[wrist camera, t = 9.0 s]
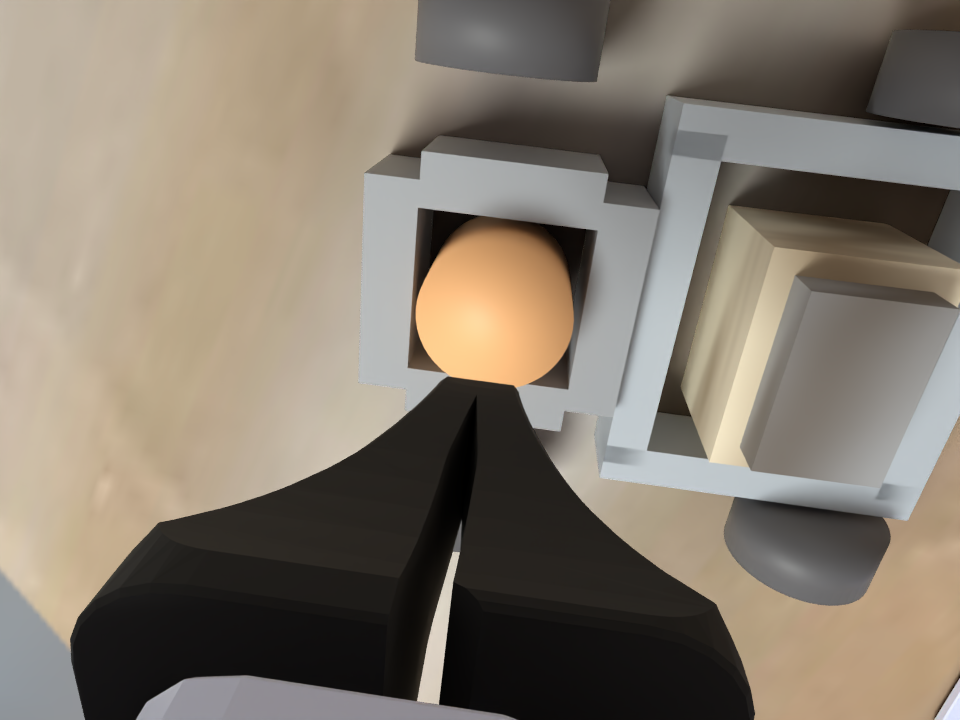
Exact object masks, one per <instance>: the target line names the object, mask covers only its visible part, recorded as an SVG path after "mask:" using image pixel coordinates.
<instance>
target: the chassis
mask: <svg viewBox="0 0 960 720" xmlns="http://www.w3.org/2000/svg"><path fill="white" fill-rule="evenodd" d="M609 6H610V0H418V15H417V33H416V50H415V60H416V61H419V62H423V63H427V64H432V65H438V66H444V67H450V68H457V69H464V70H471V71H478V72H486V73H494V74H502V75H511V76H520V77H529V78H539V79H550V80H561V81H576V82H596V81H597V77H598V71H599V65H600V59H601V53H602V47H603V42H604V36H605V30H606V24H607V18H608V12H609ZM866 112H868V113H872V114H877V115H881V116H887V117H892V118H897V119H903V120H909V121H915V122H921V123H928V124H934V125H941V126H947V127H954V128H960V32H955V31H936V30H894V31H893V32H892V35H891V38H890V41H889V44H888V47H887V50H886V53H885V56H884V59H883V62H882V65H881V68H880V71H879V73H878V76H877V79H876V82H875V85H874V88H873V91H872V94H871V97H870V100H869V103H868V106H867V109H866ZM721 161H723V162H731V163H739V164H747V165H755V166H763V167H772V168H780V169H788V170H796V171H804V172H812V173H820V174H829V175H837V176H845V177H853V178H861V179H869V180H877V181H886V182H894V183H902V184H910V185H918V186H926V187H934V188H943V189H951V190H950V192H949V195H948V197H947V199H946V202H945V204H944V207H943V209H942V212H941V214H940V216H939V219H938V221H937V224H936V226H935V229H934V231H933V233H932V236H931V238H930V241H929V243H928V247H930V248H932V249H934V250H936V251H938V252H939V253H941V254H943V255H945V256H947V257H949V258H950V259H952V260H954V261H956V262H958V263H960V130H952V129H943V128H935V127H927V126H918V125H910V124H902V123H893V122H885V121H877V120H868V119H860V118H852V117H843V116H835V115H827V114H818V113H810V112H802V111H793V110H785V109H777V108H768V107H760V106H751V105H743V104H735V103H726V102H718V101H710V100H701V99H693V98H685V97H676V96H668V95H667V97H666V101H665V106H664V111H663V115H662V120H661V125H660V129H659V134H658V139H657V144H656V148H655V153H654V158H653V162H652V167H651V172H650V176H649V181H648V186H647V190H646V188H645V187H644V186H640V185H632V184H624V183H616V182H608V181H607V180H608V175H609V174H608V172H607V170H606V167H605V165H604V163H603V161H602V159H601V157H600V155H596V154H588V153H580V152H572V151H564V150H556V149H548V148H540V147H532V146H523V145H515V144H507V143H499V142H491V141H483V140H475V139H467V138H459V137H450V136H442V135H439V136H438V137H436V138H435V139H434V140H433V141H432V142H431V143H430V144H429V145H428V146H427V147H425V148H424V149H423V150H422V152H421V158H415V157H407V156H399V155H391V154H389V155H388V156H387V157H385V158H384V159H383V160H381V161H380V162H379V163H377V164H376V165H374V166H373V167H372V168H370V169H369V170H368V171H366V172H365V173H364V208H363V243H362V278H361V313H360V347H359V382H358V383H362V384H370V385H377V386H384V387H392V388H399V389H406V399H405V410H406V411H411V410H412V409H413V408H414V407H415V406H416V405H418V404H419V403H420V402H421V401H422V400H423V399H424V398H425V397H426V396H427V395H428V394H429V393H430V392H431V391H432V390H433V389H434V388H435V387H436V386H437V384H438V383H439V382H440V381H441V380H443V379H444V378H446V377H447V376H449V377H451V376H450V375H448V374H447V373H446V372H444V371H443V370H442V369H441V368H440V367H439V366H438V365H437V364H436V363H435V362H434V361H433V360H432V359H431V357H430V356H429V355H428V353H427V351H426V350H425V348H424V346H423V344H422V342H421V340H420V337H419V333H418V330H417V324H416V305H417V299H418V295H419V292H420V289H421V287H422V285H423V283H424V280H425V278H426V276H427V275H428V273H429V263H430V250H431V237H432V223H433V210H441V211H448V212H456V213H464V214H472V215H480V216H488V217H496V218H504V219H511V220H519V221H527V222H535V223H543V224H551V225H559V226H566V227H574V228H582V229H586V235H585V240H584V246H583V251H582V257H581V262H580V268H579V274H578V279H577V285H576V290H575V296H574V302H573V311H574V324H573V332H572V335H571V339H570V342H569V344H568V347H567V349H566V351H565V352H564V354H563V356H562V357H561V359H560V360H559V361H558V362H557V364H556V365H555V366H554V367H553V368H552V369H551V370H550V371H549V372H547V373H546V374H545V375H543V376H542V377H540V378H539V379H537V380H535V381H533V382H531V383H529V384H526V385H524V386H520V387H516V389H517V390H518V391H519V395H520V398H521V402H522V404H523V407H524V410H525V412H526V414H527V416H528V419H529V421H530V423H531V425H532V427H533V428H537V429H544V430H552V431H559V432H561V427H562V421H563V416H564V411H567V412H575V413H582V414H589V415H597V416H598V420H597V424H596V429H595V434H594V436H595V444H596V453H597V461H598V469H599V477H600V478H605V479H612V480H620V481H627V482H634V483H641V484H648V485H655V486H663V487H670V488H677V489H684V490H691V491H698V492H705V493H713V494H720V495H727V496H734V497H735V498H734V501H733V504H732V507H731V510H730V512H729V515H728V518H727V521H726V524H725V528H724V539H725V542H726V545H727V547H728V549H729V551H730V553H731V554H732V556H733V557H734V558H735V560H736V561H737V562H738V563H739V564H740V565H741V566H742V567H743V568H744V569H745V570H746V571H747V572H748V573H750V574H751V575H752V576H753V577H755V578H756V579H757V580H759V581H760V582H762V583H763V584H765V585H767V586H768V587H770V588H772V589H774V590H776V591H778V592H780V593H782V594H784V595H787V596H789V597H792V598H795V599H798V600H801V601H805V602H808V603H813V604H818V605H828V606H833V605H845V604H849V603H852V602H855V601H857V600H859V599H860V598H861V597H862V596H863V595H864V594H865V593H866V591H867V589H868V587H869V585H870V583H871V581H872V579H873V577H874V575H875V573H876V571H877V569H878V566H879V564H880V562H881V560H882V558H883V556H884V554H885V552H886V550H887V548H888V546H889V543H890V537H891V536H890V530H889V528H888V525H887V524H886V522H885V520H884V519H883V517H884V518H892V519H899V520H906V521H908V519H909V517H910V515H911V513H912V511H913V509H914V507H915V505H916V503H917V501H918V498H919V496H920V494H921V492H922V490H923V488H924V486H925V484H926V482H927V480H928V478H929V476H930V474H931V472H932V470H933V468H934V466H935V464H936V462H937V460H938V458H939V456H940V454H941V452H942V450H943V448H944V445H945V443H946V441H947V439H948V437H949V435H950V433H951V431H952V429H953V427H954V425H955V423H956V421H957V419H958V417H959V415H960V312H959V314H958V316H957V318H956V321H955V323H954V325H953V327H952V329H951V332H950V334H949V336H948V338H947V341H946V343H945V345H944V347H943V350H942V352H941V354H940V356H939V358H938V361H937V363H936V365H935V367H934V370H933V372H932V374H931V376H930V379H929V381H928V383H927V385H926V387H925V390H924V392H923V394H922V396H921V399H920V401H919V403H918V405H917V408H916V410H915V412H914V414H913V417H912V419H911V421H910V423H909V425H908V428H907V430H906V432H905V434H904V437H903V439H902V441H901V443H900V446H899V448H898V450H897V452H896V454H895V457H894V459H893V461H892V463H891V466H890V468H889V470H888V472H887V475H886V477H885V479H884V481H883V483H882V486H881V488H875V487H867V486H860V485H852V484H845V483H837V482H830V481H822V480H815V479H807V478H800V477H793V476H785V475H778V474H770V473H763V472H755V471H751V470H750V468H749V467H741V466H734V465H726V464H719V463H711V462H709V460H708V458H707V455H706V452H705V450H704V447H703V444H702V442H701V439H700V437H699V434H698V431H697V429H696V426H695V424H694V421H693V418H692V417H690V416H682V415H675V414H668V413H660V412H657V409H658V405H659V401H660V397H661V393H662V389H663V386H664V382H665V378H666V374H667V370H668V366H669V362H670V358H671V354H672V351H673V347H674V343H675V339H676V335H677V331H678V327H679V323H680V320H681V316H682V312H683V308H684V304H685V300H686V296H687V292H688V288H689V285H690V281H691V277H692V273H693V269H694V265H695V261H696V257H697V254H698V250H699V246H700V242H701V238H702V234H703V230H704V226H705V222H706V219H707V215H708V211H709V207H710V203H711V199H712V195H713V191H714V188H715V184H716V180H717V176H718V172H719V168H720V164H721ZM957 308H959V309H960V303H959V305H958V307H957ZM461 526H462V521H461V524H460V528H459V531H458V535H457V538H456V542H455V545H454V549H453V552H460V545H461Z"/></svg>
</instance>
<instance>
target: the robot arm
mask: <svg viewBox="0 0 960 720" xmlns="http://www.w3.org/2000/svg"><path fill="white" fill-rule="evenodd" d="M461 521H462V526H461V545H460V555H459V559H458V564H457V568H456V573H455V577H454V581H453V589H452V598H451V606H450V615H449V623H448V632H447V640H446V649H445V657H444V666H443V674H442V683H441V691H440V700H439V705H437V704H431V703H424V702H418V701H417V698H418V692H419V687H420V681H421V676H422V670H423V665H424V659H425V654H426V648H427V643H428V639H429V635H430V630H431V626H432V622H433V618H434V615H435V611H436V608H437V604H438V601H439V597H440V594H441V590H442V587H443V583H444V580H445V577H446V573H447V570H448V566H449V563H450V559H451V556H452V552H453V549H454V545H455V542H456V538H457V535H458V531H459V528H460V524H461ZM70 643H71V661H72V665H73V670H74V674H75V679H76V683H77V687H78V691H79V696H80V700H81V704H82V708H83V713H84V717H85V720H754V716H755V711H754V705H753V700H752V694H751V689H750V686H749V683H748V680H747V677H746V673H745V670H744V667H743V664H742V661H741V658H740V656H739V654H738V651H737V649H736V647H735V644H734V642H733V640H732V637H731V635H730V633H729V631H728V629H727V627H726V625H725V623H724V621H723V618H722V616H721V614H720V612H719V610H718V607H717V605H716V604H715V603H714V602H712V601H711V600H709V599H707V598H706V597H704V596H702V595H701V594H699V593H698V592H696V591H694V590H693V589H691V588H690V587H688V586H686V585H685V584H683V583H682V582H680V581H678V580H677V579H675V578H673V577H672V576H670V575H669V574H667V573H665V572H664V571H663V570H661V569H660V568H658V567H657V566H656V565H654V564H653V563H652V562H650V561H649V560H648V559H646V558H645V557H644V556H642V555H641V554H639V553H638V552H637V551H635V550H634V549H633V548H632V547H630V546H629V545H628V544H627V543H626V542H624V541H623V540H622V539H621V538H620V537H618V536H617V535H616V534H615V533H614V532H613V531H612V530H611V529H610V528H609V527H607V526H606V525H605V524H604V523H603V522H602V521H601V520H600V519H599V518H598V517H597V516H596V515H595V514H594V513H593V512H592V511H591V510H590V509H589V508H588V507H587V506H586V505H585V504H584V503H583V502H582V501H581V499H580V498H579V497H578V496H577V495H576V494H575V492H574V491H573V490H572V489H571V488H570V486H569V485H568V484H567V482H566V481H565V480H564V478H563V477H562V475H561V474H560V473H559V471H558V470H557V468H556V467H555V465H554V464H553V462H552V461H551V459H550V457H549V456H548V454H547V453H546V451H545V449H544V448H543V446H542V444H541V442H540V440H539V438H538V437H537V435H536V433H535V431H534V429H533V427H532V425H531V423H530V421H529V419H528V416H527V414H526V412H525V410H524V407H523V404H522V402H521V398H520V395H519V391H518V390H517V389H516V387H515V386H514V385H508V384H500V383H493V382H486V381H478V380H471V379H464V378H456V377H449V376H447V377H446V378H444V379H443V380H441V381H440V382H439V383H438V384H437V386H436V387H435V388H434V389H433V390H432V391H431V392H430V393H429V394H428V395H427V396H426V397H425V398H424V399H423V400H422V401H421V402H420V403H419V404H418V405H416V406H415V407H414V408H413V409H412V410H411V411H410V412H409V413H407V414H406V415H405V416H404V417H403V418H402V419H401V420H399V421H398V422H397V423H396V424H395V425H393V426H392V427H391V428H389V429H388V430H387V431H385V432H384V433H383V434H381V435H380V436H379V437H377V438H376V439H375V440H374V441H372V442H371V443H370V444H368V445H367V446H365V447H364V448H362V449H361V450H359V451H358V452H356V453H355V454H353V455H351V456H349V457H348V458H346V459H344V460H342V461H341V462H339V463H337V464H335V465H333V466H331V467H329V468H327V469H325V470H323V471H321V472H319V473H316V474H314V475H312V476H310V477H308V478H305V479H303V480H301V481H299V482H297V483H294V484H292V485H290V486H287V487H285V488H282V489H280V490H277V491H274V492H271V493H269V494H266V495H263V496H260V497H257V498H254V499H251V500H248V501H245V502H242V503H238V504H235V505H232V506H228V507H225V508H221V509H217V510H213V511H208V512H204V513H200V514H196V515H191V516H187V517H183V518H179V519H175V520H170V521H165V522H160V523H158V524H157V525H156V526H155V527H154V528H153V529H152V530H151V532H150V533H149V534H148V535H147V536H146V537H145V538H144V539H143V540H142V541H141V542H140V543H139V544H138V545H137V546H136V547H135V548H134V549H133V550H132V551H131V553H130V554H129V555H128V556H127V557H126V559H125V560H124V561H123V562H122V563H121V565H120V566H119V567H118V568H117V570H116V571H115V572H114V573H113V575H112V576H111V577H110V578H109V580H108V581H107V582H106V583H105V585H104V586H103V587H102V588H101V589H100V591H99V592H98V593H97V594H96V596H95V597H94V598H93V599H92V601H91V602H90V603H89V604H88V606H87V607H86V608H85V609H84V611H83V612H82V613H81V614H80V616H79V617H78V619H77V622H76V624H75V627H74V630H73V633H72V635H71V638H70ZM934 720H960V679H959V680H958V682H957V684H956V685H955V687H954V689H953V690H952V692H951V693H950V695H949V697H948V698H947V700H946V702H945V703H944V705H943V706H942V708H941V710H940V711H939V713H938V715H937V716H936V718H935V719H934Z"/></svg>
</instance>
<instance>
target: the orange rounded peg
mask: <svg viewBox="0 0 960 720" xmlns="http://www.w3.org/2000/svg"><path fill="white" fill-rule="evenodd" d="M416 324H417V330H418V333H419V337H420V340H421V342H422V344H423V346H424V348H425V350H426V351H427V353H428V355H429V356H430V357H431V359H432V360H433V361H434V362H435V363H436V364H437V365H438V366H439V367H440V368H441V369H442V370H443V371H444V372H446V373H447V374H448V375H450V376H451V377H456V378H464V379H471V380H478V381H486V382H493V383H500V384H508V385H514V386H515V387H520V386H524V385H526V384H529V383H531V382H533V381H535V380H537V379H539V378H540V377H542V376H543V375H545V374H546V373H547V372H549V371H550V370H551V369H552V368H553V367H554V366H555V365H556V364H557V362H558V361H559V360H560V359H561V357H562V356H563V354H564V352H565V351H566V349H567V347H568V344H569V342H570V339H571V335H572V332H573V324H574V311H573V301H572V291H571V281H570V272H569V266H568V262H567V259H566V256H565V254H564V252H563V250H562V248H561V246H560V245H559V243H558V242H557V240H556V239H555V238H554V237H553V236H552V235H551V234H550V233H549V232H548V231H547V230H546V229H545V228H544V227H542V226H540V225H539V224H537V223H535V222H527V221H519V220H511V219H504V218H496V217H488V216H480V217H477V218H474V219H472V220H470V221H468V222H466V223H464V224H463V225H461V226H460V227H458V228H457V229H456V230H455V231H454V232H453V233H452V234H451V235H450V236H449V237H448V238H447V239H446V241H445V242H444V244H443V245H442V247H441V249H440V251H439V253H438V255H437V257H436V259H435V261H434V263H433V265H432V267H431V269H430V271H429V273H428V275H427V276H426V278H425V280H424V283H423V285H422V287H421V289H420V292H419V295H418V299H417V305H416Z"/></svg>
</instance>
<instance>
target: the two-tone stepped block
mask: <svg viewBox="0 0 960 720" xmlns="http://www.w3.org/2000/svg"><path fill="white" fill-rule="evenodd" d="M959 303H960V263H958V262H956V261H954V260H952V259H950V258H949V257H947V256H945V255H943V254H941V253H939V252H938V251H936V250H934V249H932V248H930V247H928V246H927V245H925V244H923V243H921V242H919V241H917V240H916V239H914V238H912V237H910V236H908V235H907V234H905V233H903V232H901V231H899V230H897V229H896V228H894V227H892V226H890V225H888V224H884V223H876V222H867V221H859V220H851V219H842V218H834V217H825V216H817V215H808V214H800V213H792V212H783V211H775V210H766V209H758V208H749V207H741V206H733V205H729V206H728V209H727V213H726V217H725V221H724V225H723V228H722V232H721V236H720V240H719V244H718V247H717V251H716V255H715V259H714V262H713V266H712V270H711V274H710V278H709V281H708V285H707V289H706V293H705V297H704V300H703V304H702V308H701V312H700V316H699V319H698V323H697V327H696V331H695V335H694V338H693V342H692V346H691V350H690V354H689V357H688V361H687V365H686V369H685V373H684V376H683V380H682V384H681V390H682V392H683V395H684V398H685V400H686V403H687V405H688V408H689V411H690V413H691V416H692V418H693V421H694V424H695V426H696V429H697V431H698V434H699V437H700V439H701V442H702V444H703V447H704V450H705V452H706V455H707V458H708V460H709V462H711V463H719V464H726V465H734V466H741V467H749V468H750V470H751V471H755V472H763V473H770V474H778V475H785V476H793V477H800V478H807V479H815V480H822V481H830V482H837V483H845V484H852V485H860V486H867V487H875V488H881V486H882V483H883V481H884V479H885V477H886V475H887V472H888V470H889V468H890V466H891V463H892V461H893V459H894V457H895V454H896V452H897V450H898V448H899V446H900V443H901V441H902V439H903V437H904V434H905V432H906V430H907V428H908V425H909V423H910V421H911V419H912V417H913V414H914V412H915V410H916V408H917V405H918V403H919V401H920V399H921V396H922V394H923V392H924V390H925V387H926V385H927V383H928V381H929V379H930V376H931V374H932V372H933V370H934V367H935V365H936V363H937V361H938V358H939V356H940V354H941V352H942V350H943V347H944V345H945V343H946V341H947V338H948V336H949V334H950V332H951V329H952V327H953V325H954V323H955V321H956V318H957V316H958V314H959V312H960V309H959V308H957V307H958V305H959Z"/></svg>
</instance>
